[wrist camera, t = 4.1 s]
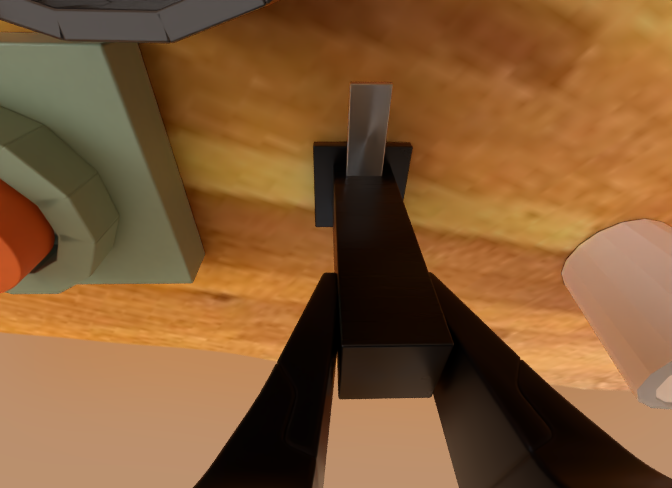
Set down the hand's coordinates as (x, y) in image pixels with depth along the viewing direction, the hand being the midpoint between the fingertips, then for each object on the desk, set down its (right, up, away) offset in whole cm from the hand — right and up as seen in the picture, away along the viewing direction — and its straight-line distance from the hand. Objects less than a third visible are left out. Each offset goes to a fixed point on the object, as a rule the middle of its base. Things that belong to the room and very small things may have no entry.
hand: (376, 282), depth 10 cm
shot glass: (+15, 0, +9) cm, 17 cm away
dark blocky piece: (0, +4, +5) cm, 6 cm away
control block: (-14, +4, +4) cm, 15 cm away
